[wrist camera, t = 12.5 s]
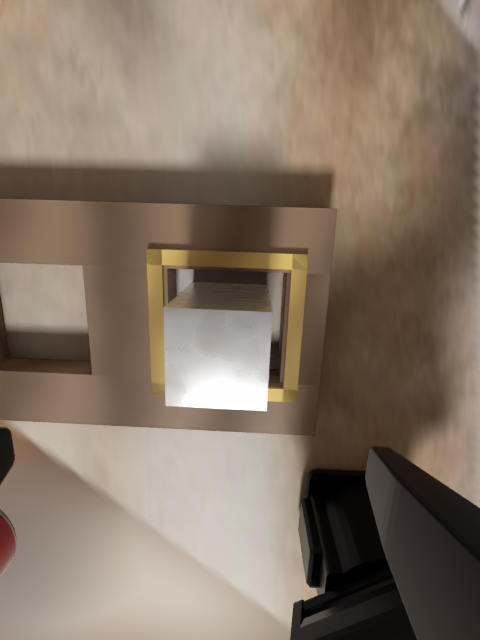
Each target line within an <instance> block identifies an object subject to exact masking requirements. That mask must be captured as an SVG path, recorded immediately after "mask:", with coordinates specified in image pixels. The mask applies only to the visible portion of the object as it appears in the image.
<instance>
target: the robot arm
mask: <svg viewBox="0 0 480 640" xmlns="http://www.w3.org/2000/svg"><path fill="white" fill-rule="evenodd" d="M14 460H15V453H14V447H13V441H12V435H11V431H10V430H9V429H8V428H3V427H0V485H1V483H2V481H3V480H4V478H5V477H6V475H7V474H8V472H9V471H10V469H11V468H12V466H13V463H14ZM314 477H319V478H318V479H314ZM298 529H299V537H300V543H301V550H302V557H303V564H304V571H305V578H306V583H307V584H308V585H309V587H312V588H317V594H318V596H315V597H313V598H310V599H308V600H306V601H304V600H300V601H298V602H295V603H294V605H293V616H292V627H291V638H290V640H480V508H479V507H477V506H476V505H474V504H473V503H471V502H470V501H468V500H467V499H465V498H464V497H462V496H461V495H459V494H458V493H456V492H455V491H453V490H452V489H450V488H449V487H447V486H446V485H444V484H443V483H441V482H440V481H438V480H437V479H435V478H434V477H432V476H431V475H429V474H428V473H426V472H425V471H423V470H422V469H420V468H419V467H417V466H416V465H414V464H413V463H411V462H410V461H409V460H407V459H406V458H404V457H403V456H401V455H400V454H398V453H397V452H395V451H394V450H392V449H391V448H389V447H380V446H372V447H371V448H370V450H369V455H368V461H367V468H366V472H356V471H337V470H318V469H316V470H312V471H311V472H310V473H309V476H308V486H307V497H306V498H303V500H302V501H301V506H300V517H299V528H298Z"/></svg>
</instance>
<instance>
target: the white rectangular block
mask: <svg viewBox="0 0 480 640" xmlns="http://www.w3.org/2000/svg"><path fill="white" fill-rule="evenodd" d="M163 315H164V359H165V403H166V406H177V407H196V408H215V409H234V410H253V411H267V397H268V381H269V365H270V348H271V332H272V316H273V311H272V307H271V302H270V298H269V293H268V289H267V285H260V284H236V283H212V282H192V283H191V284H190V285H189V286H188V287H186V288H185V289H184V290H183V291H182V292H181V293H180V294H178V295H177V296H176V297H175V298H174V299H173V300H171V301H170V302H169V303H168V304H167V305H166V306H164V307H163Z"/></svg>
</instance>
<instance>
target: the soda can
mask: <svg viewBox="0 0 480 640" xmlns="http://www.w3.org/2000/svg"><path fill="white" fill-rule="evenodd" d="M15 551H16V534H15V530H14V527H13V525H12V523H11V521H10V520H9V518H8V517H7V516H6V515H5V514H4V513H3V512H2V511H1V510H0V577H1V576H2V574H3V573H4V571H5V570H6V569H7V567H8V566H9V564H10V563H11V561H12V559H13V558H14V556H15Z"/></svg>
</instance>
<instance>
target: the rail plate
mask: <svg viewBox="0 0 480 640" xmlns="http://www.w3.org/2000/svg"><path fill="white" fill-rule="evenodd" d="M336 217H337V209H333V208H300V207H266V206H232V205H199V204H165V203H132V202H98V201H65V200H31V199H0V262H2V263H30V264H58V265H83V275H84V286H85V298H86V309H87V321H88V332H89V344H90V355H91V361H69V360H46V359H24V358H9V352H8V346H7V339H6V333H5V326H4V319H3V313H2V306H1V300H0V420H13V421H33V422H52V423H72V424H92V425H112V426H131V427H151V428H171V429H191V430H210V431H230V432H250V433H270V434H289V435H309V436H315V429H316V419H317V408H318V398H319V388H320V378H321V368H322V358H323V348H324V338H325V328H326V318H327V308H328V298H329V288H330V277H331V267H332V257H333V247H334V237H335V227H336ZM176 269H197V270H225V271H253V272H281V273H284V276H283V291H282V307H281V323H280V338H279V354H278V370H270V369H269V381H268V397H267V411H253V410H234V409H215V408H196V407H177V406H166V403H165V359H164V315H163V307H164V306H166V305H167V304H168V303H169V302H170V301H171V300H173V299H174V298H175V297H176Z"/></svg>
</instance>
